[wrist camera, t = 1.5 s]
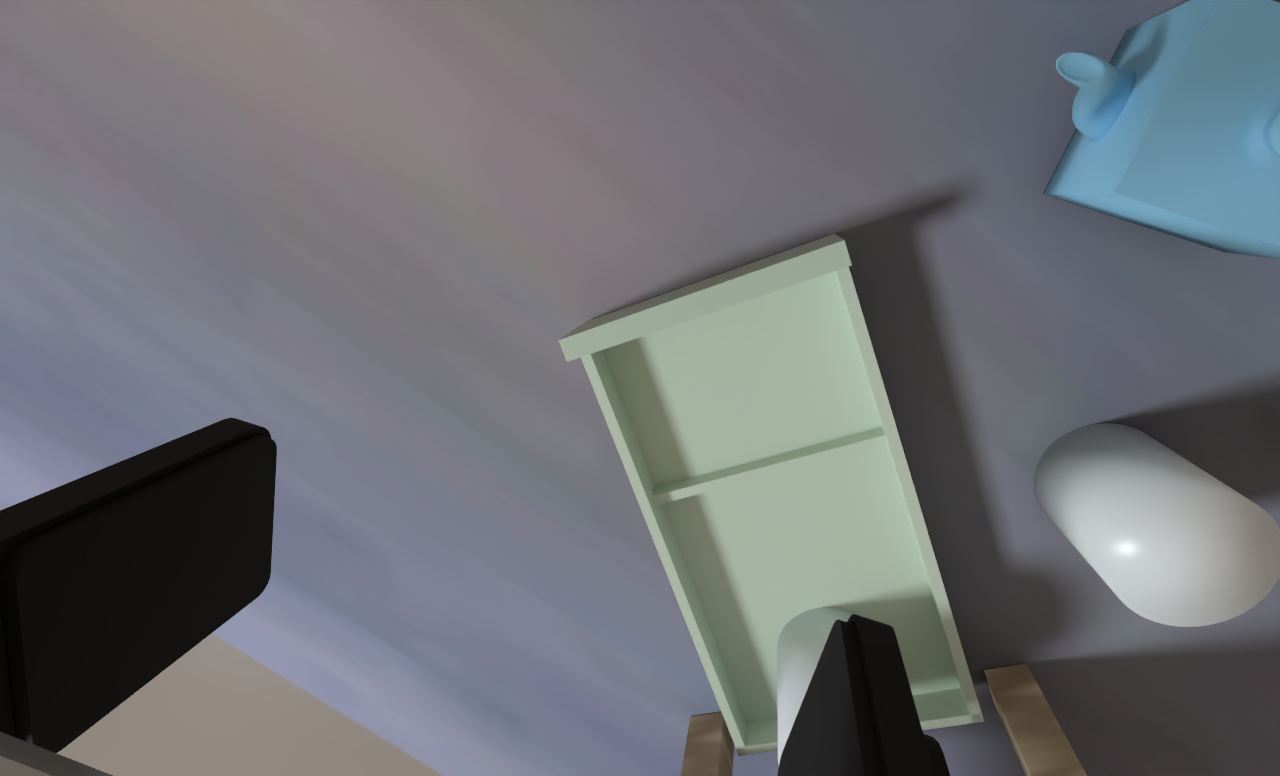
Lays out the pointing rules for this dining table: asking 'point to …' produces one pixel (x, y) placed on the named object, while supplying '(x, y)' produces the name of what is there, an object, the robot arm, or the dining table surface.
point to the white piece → (1158, 526)
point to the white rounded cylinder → (800, 662)
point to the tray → (774, 476)
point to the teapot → (1183, 127)
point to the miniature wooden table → (1015, 698)
